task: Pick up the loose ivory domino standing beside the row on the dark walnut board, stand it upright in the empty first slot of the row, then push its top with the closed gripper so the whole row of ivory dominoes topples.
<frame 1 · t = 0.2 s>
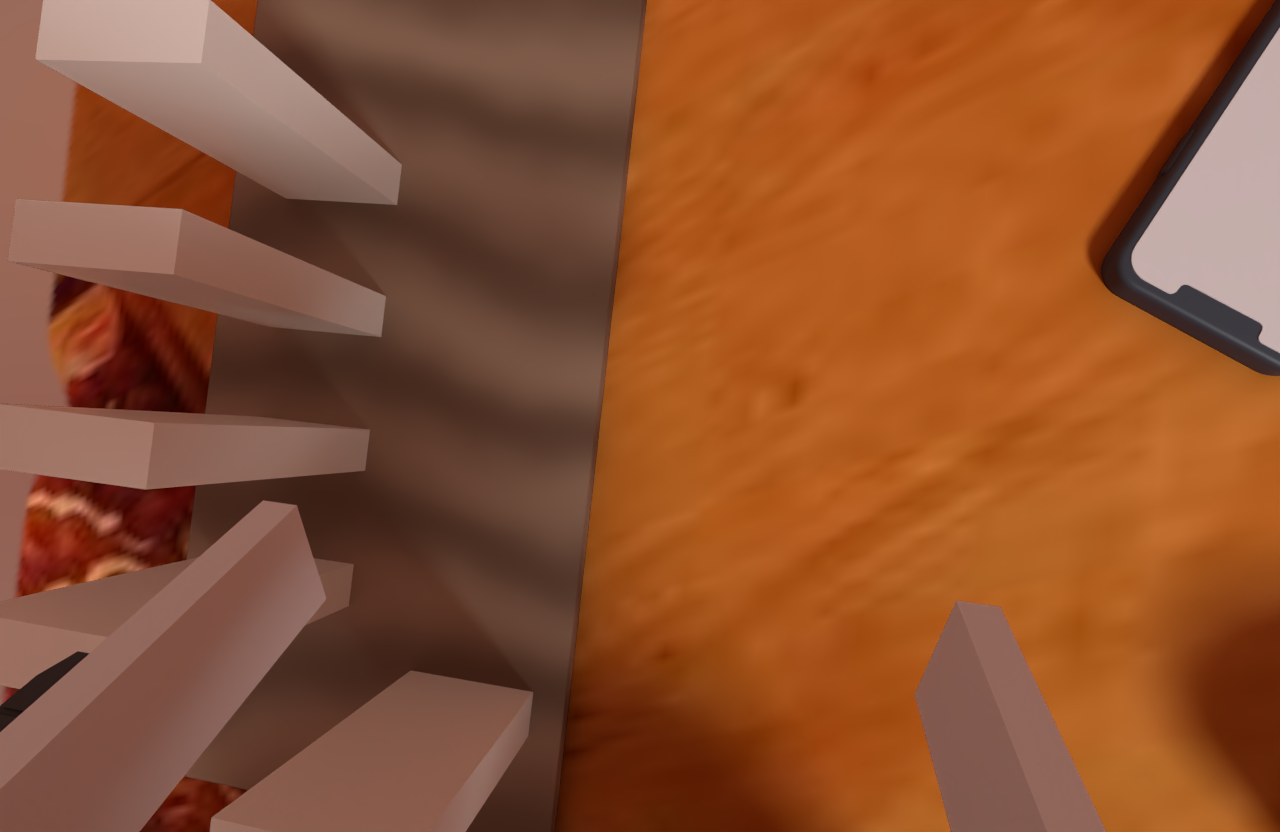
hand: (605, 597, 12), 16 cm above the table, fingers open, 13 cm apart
domino 2: (294, 576, 29), point 1 cm above the table, touching walnut board
walnut board: (405, 392, 30), on the table
domino 5: (343, 181, 29), point 1 cm above the table, touching walnut board
loose domino: (468, 702, 27), point 1 cm above the table, touching walnut board
domino 3: (311, 443, 29), point 1 cm above the table, touching walnut board
domino 4: (327, 311, 29), point 1 cm above the table, touching walnut board
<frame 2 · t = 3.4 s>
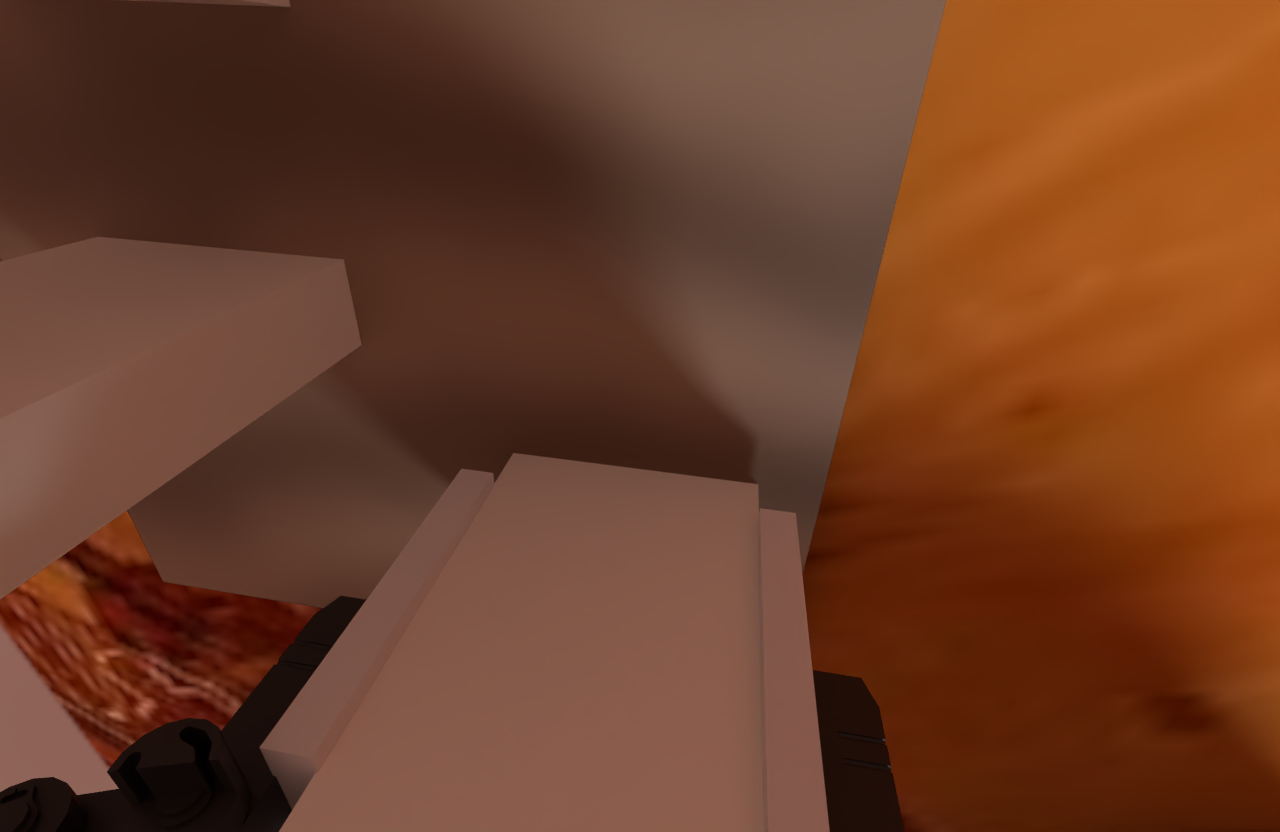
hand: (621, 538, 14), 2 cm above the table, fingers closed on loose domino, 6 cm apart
domino 2: (231, 291, 14), point 1 cm above the table, touching walnut board
loose domino: (631, 500, 15), point 1 cm above the table, touching gripper, walnut board
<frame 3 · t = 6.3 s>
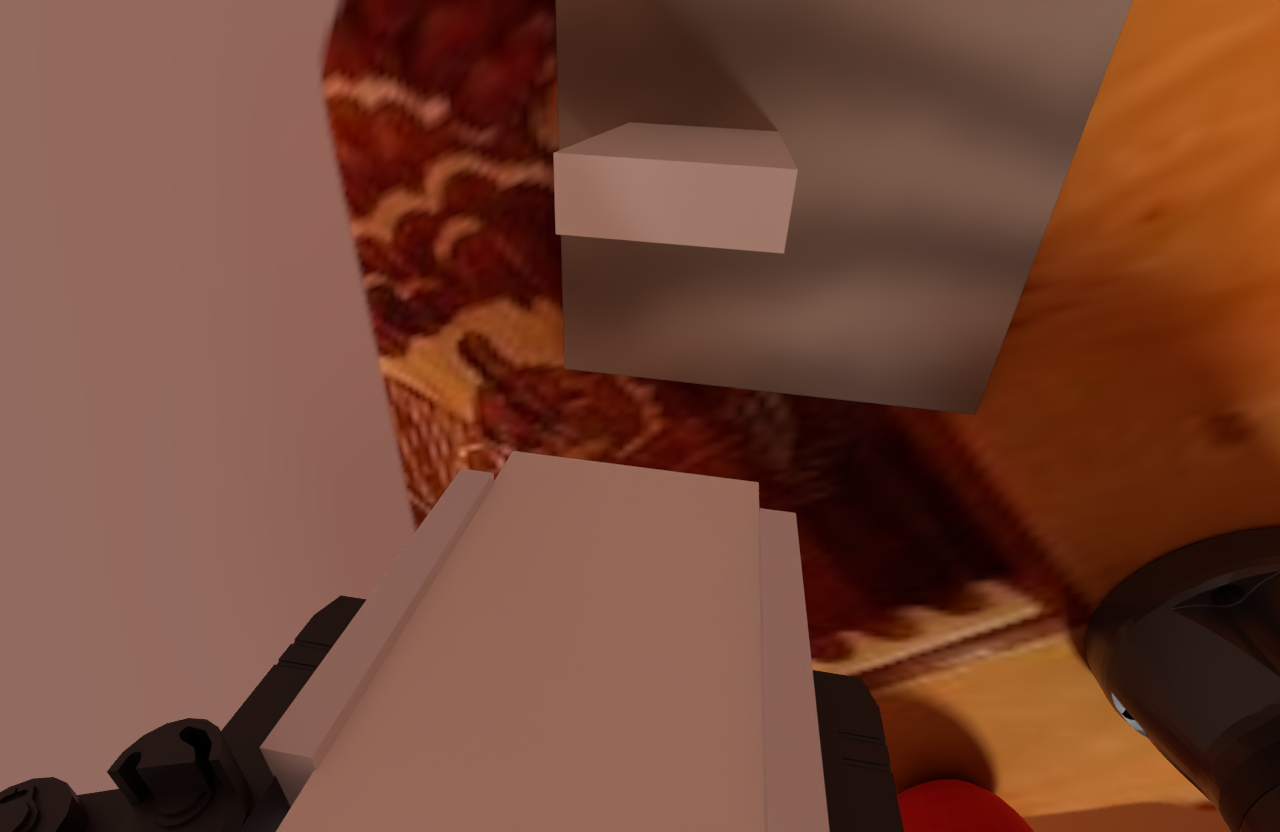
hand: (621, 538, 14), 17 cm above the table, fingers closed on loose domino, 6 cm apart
domino 2: (700, 153, 24), point 1 cm above the table, touching walnut board
tomato: (942, 789, 44), on the table
loose domino: (631, 499, 15), point 16 cm above the table, touching gripper
when the fingers open (3 cm above the table, at t = 9.4 s): loose domino stays where it is, resting on walnut board.
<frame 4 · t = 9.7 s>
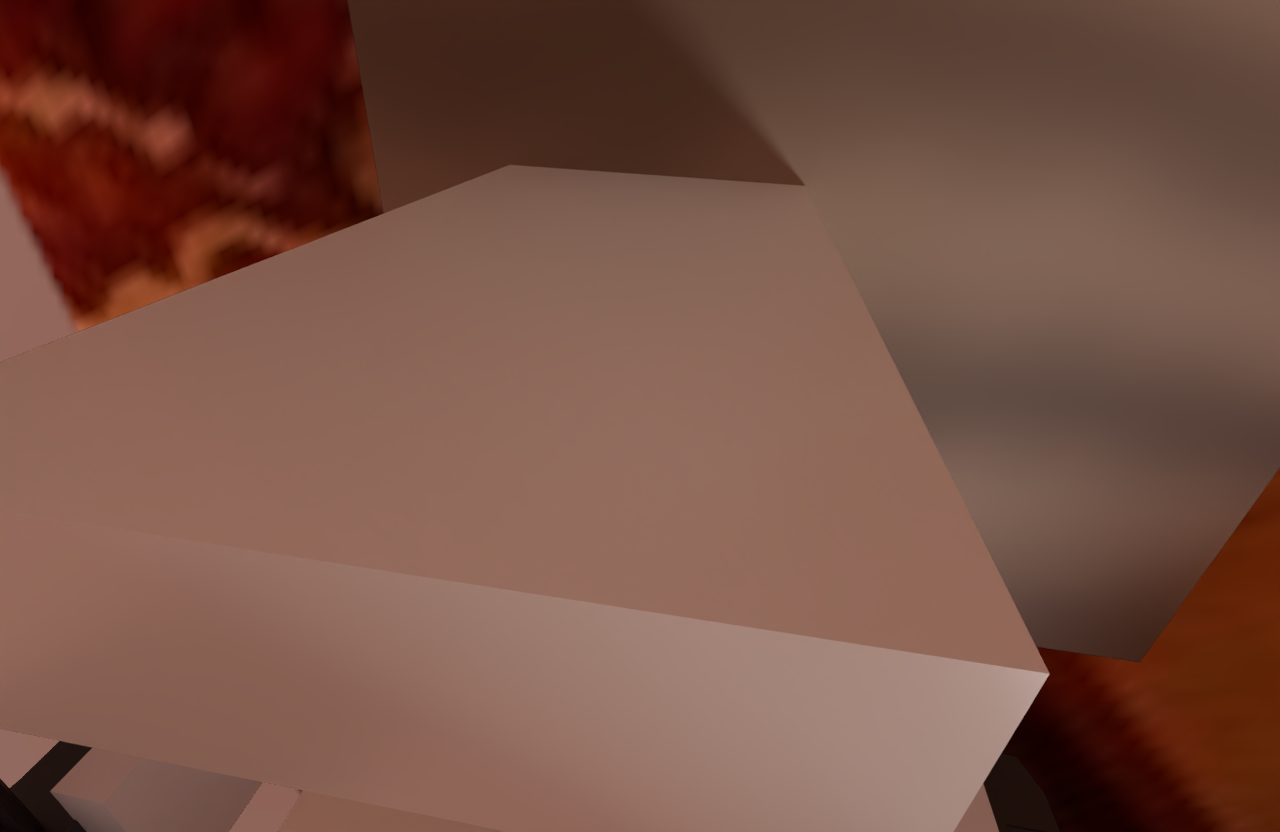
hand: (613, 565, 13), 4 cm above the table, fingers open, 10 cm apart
domino 2: (650, 226, 12), point 1 cm above the table, touching walnut board
loose domino: (638, 475, 16), point 1 cm above the table, touching walnut board
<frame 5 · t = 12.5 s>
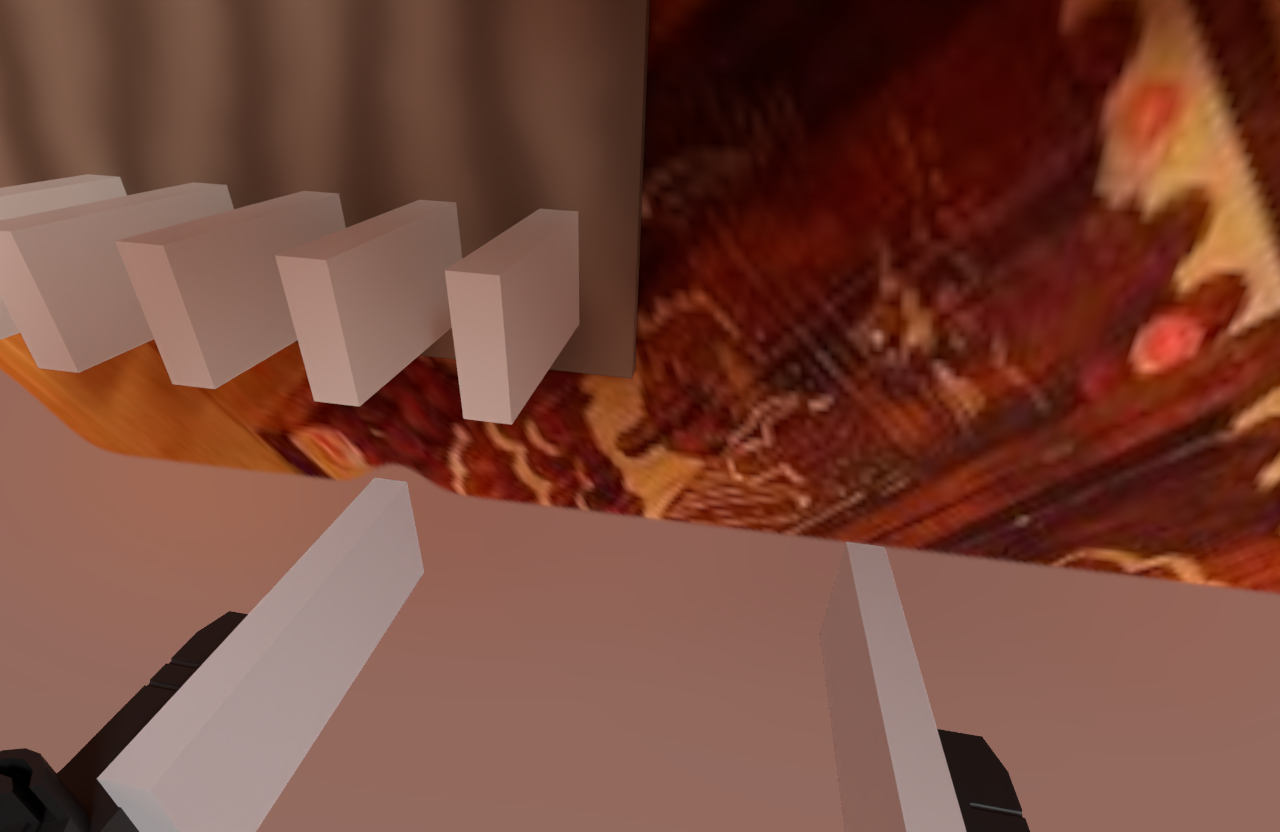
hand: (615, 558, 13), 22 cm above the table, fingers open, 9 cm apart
domino 2: (444, 258, 32), point 1 cm above the table, touching walnut board
walnut board: (276, 165, 32), on the table
domino 5: (125, 230, 34), point 1 cm above the table, touching walnut board
loose domino: (560, 268, 31), point 1 cm above the table, touching walnut board
domino 3: (333, 249, 33), point 1 cm above the table, touching walnut board
domino 4: (227, 239, 34), point 1 cm above the table, touching walnut board
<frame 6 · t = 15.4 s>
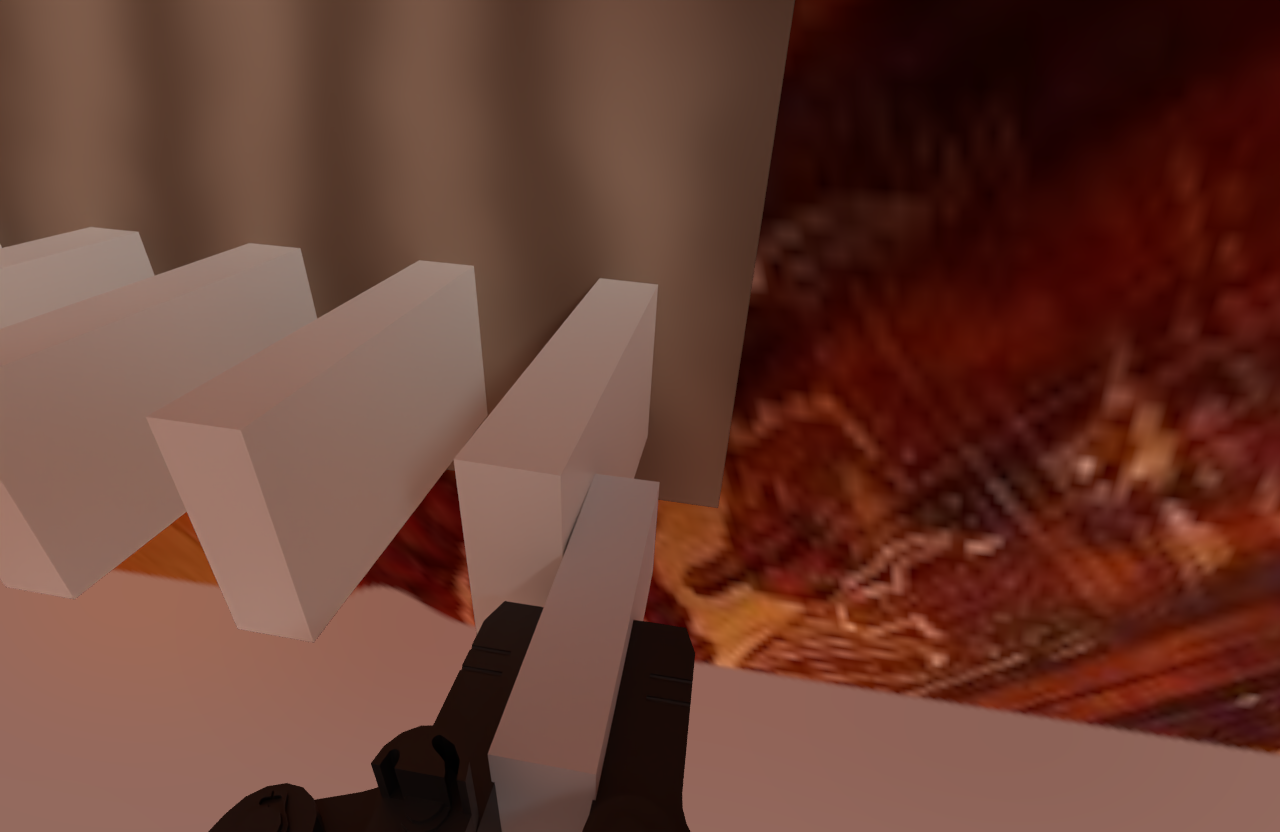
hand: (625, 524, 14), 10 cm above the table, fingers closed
domino 2: (455, 342, 22), point 1 cm above the table, touching walnut board
walnut board: (211, 204, 22), on the table
loose domino: (625, 362, 21), point 1 cm above the table, touching gripper, walnut board
domino 3: (295, 323, 23), point 1 cm above the table, touching walnut board
domino 4: (144, 306, 24), point 1 cm above the table, touching walnut board
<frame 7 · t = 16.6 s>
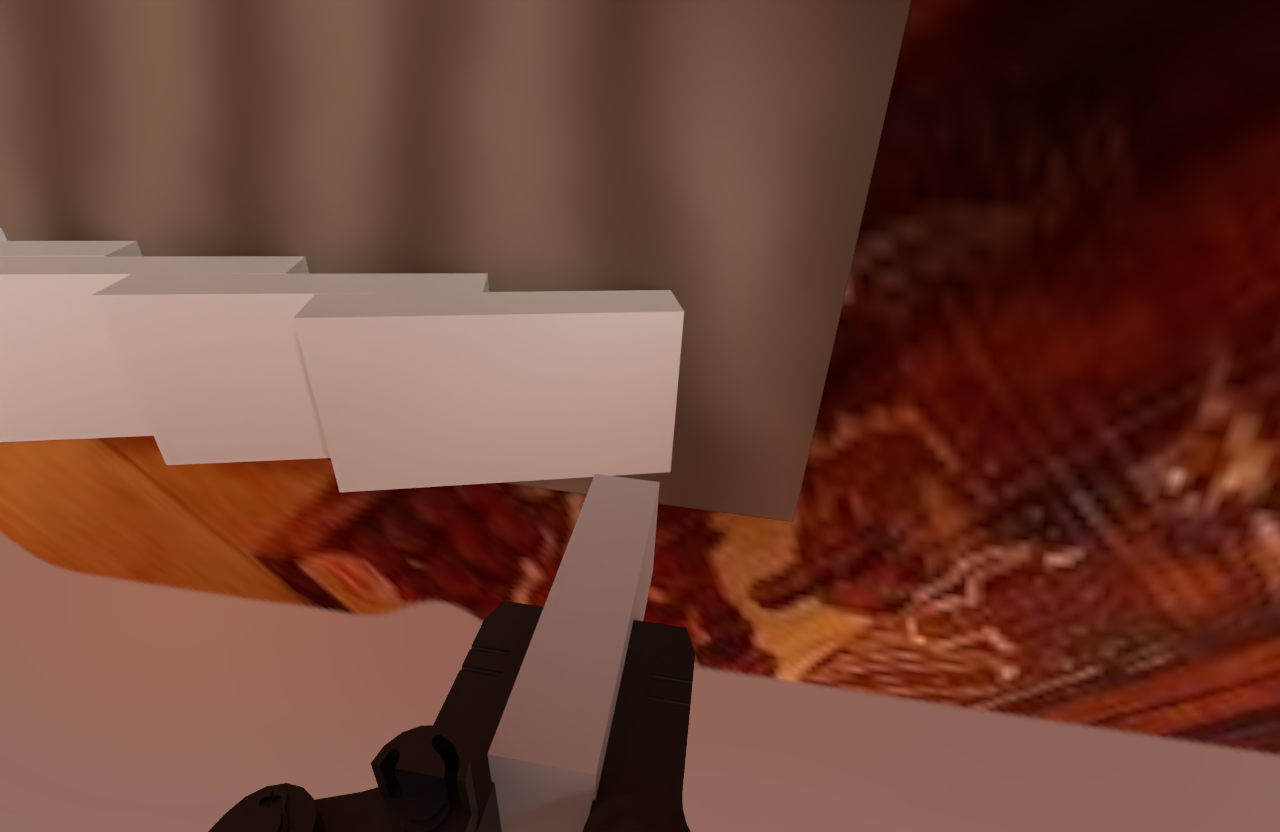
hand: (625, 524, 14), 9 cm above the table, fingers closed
domino 2: (492, 364, 21), point 2 cm above the table, tilted 73°, touching domino 3, loose domino, walnut board
walnut board: (284, 218, 22), on the table
loose domino: (670, 384, 20), point 2 cm above the table, tilted 72°, touching domino 2, walnut board
domino 3: (316, 345, 22), point 2 cm above the table, tilted 72°, touching domino 2, domino 4, walnut board
domino 4: (152, 326, 23), point 2 cm above the table, tilted 71°, touching domino 3, domino 5, walnut board
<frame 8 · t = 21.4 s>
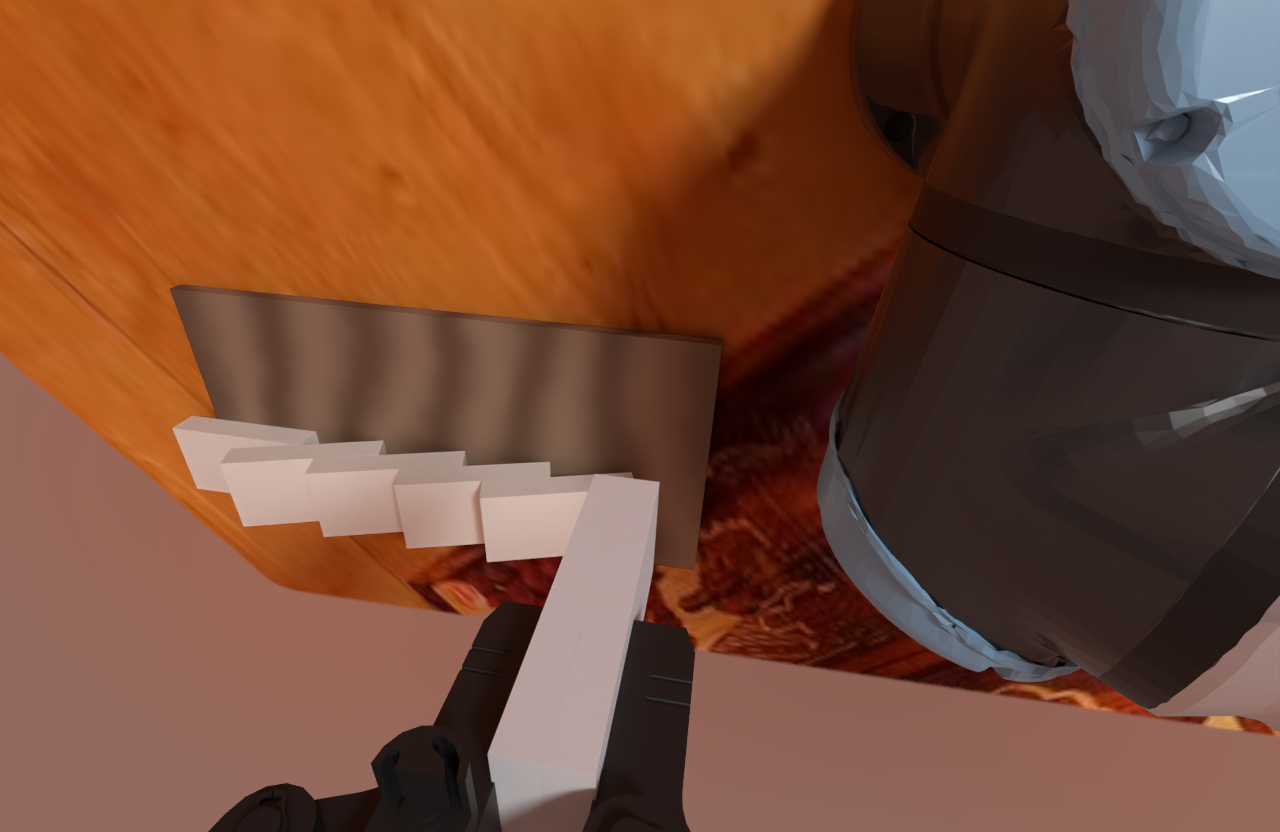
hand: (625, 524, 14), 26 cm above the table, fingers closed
domino 2: (551, 500, 46), point 2 cm above the table, tilted 73°, touching domino 3, loose domino, walnut board
walnut board: (453, 431, 47), on the table
domino 5: (316, 469, 48), point 2 cm above the table, tilted 90°, touching domino 4, walnut board
loose domino: (632, 511, 45), point 2 cm above the table, tilted 72°, touching domino 2, walnut board
domino 3: (467, 489, 47), point 2 cm above the table, tilted 72°, touching domino 2, domino 4, walnut board
domino 4: (387, 478, 48), point 2 cm above the table, tilted 71°, touching domino 3, domino 5, walnut board
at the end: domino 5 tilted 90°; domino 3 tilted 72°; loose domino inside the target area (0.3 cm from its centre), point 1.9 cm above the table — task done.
